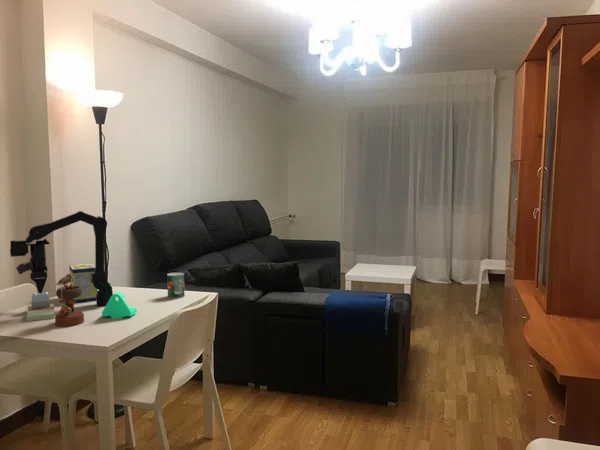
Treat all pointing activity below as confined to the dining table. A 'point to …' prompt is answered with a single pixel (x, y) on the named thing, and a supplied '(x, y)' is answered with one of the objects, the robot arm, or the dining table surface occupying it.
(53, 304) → the walnut stand
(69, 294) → the brown bird figurine
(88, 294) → the protein box
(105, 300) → the robot arm
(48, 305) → the housing
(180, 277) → the canned tomato
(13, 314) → the dining table surface
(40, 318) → the green stand
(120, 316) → the camera mount
